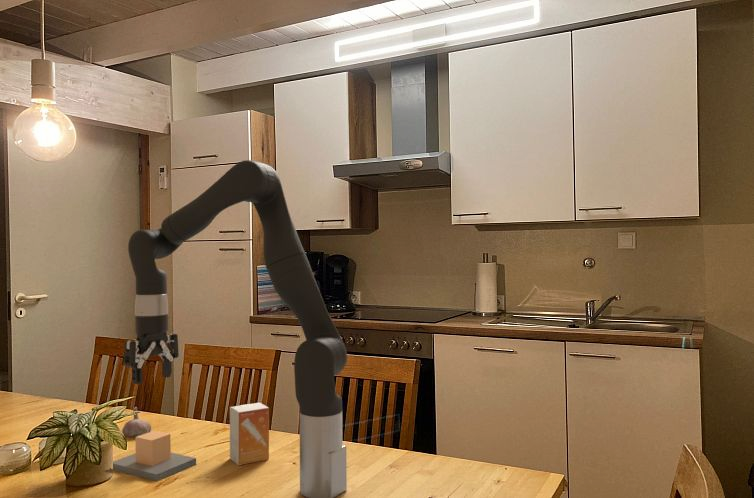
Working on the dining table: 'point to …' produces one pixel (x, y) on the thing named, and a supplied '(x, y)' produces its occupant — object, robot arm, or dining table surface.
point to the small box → (249, 433)
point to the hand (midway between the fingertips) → (152, 380)
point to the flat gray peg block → (154, 466)
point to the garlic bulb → (136, 426)
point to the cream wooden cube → (153, 448)
